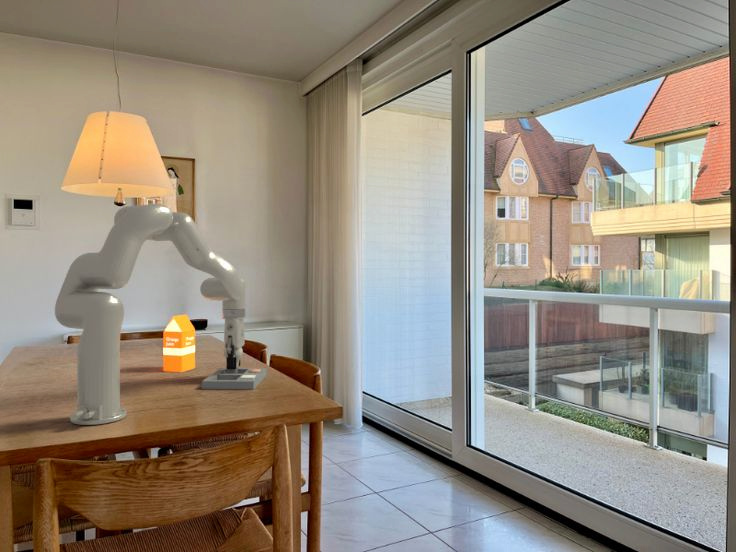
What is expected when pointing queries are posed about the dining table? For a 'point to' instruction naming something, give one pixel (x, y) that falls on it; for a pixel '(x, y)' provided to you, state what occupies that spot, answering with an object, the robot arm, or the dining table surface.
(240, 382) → the socket board
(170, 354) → the orange juice
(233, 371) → the lightbulb
